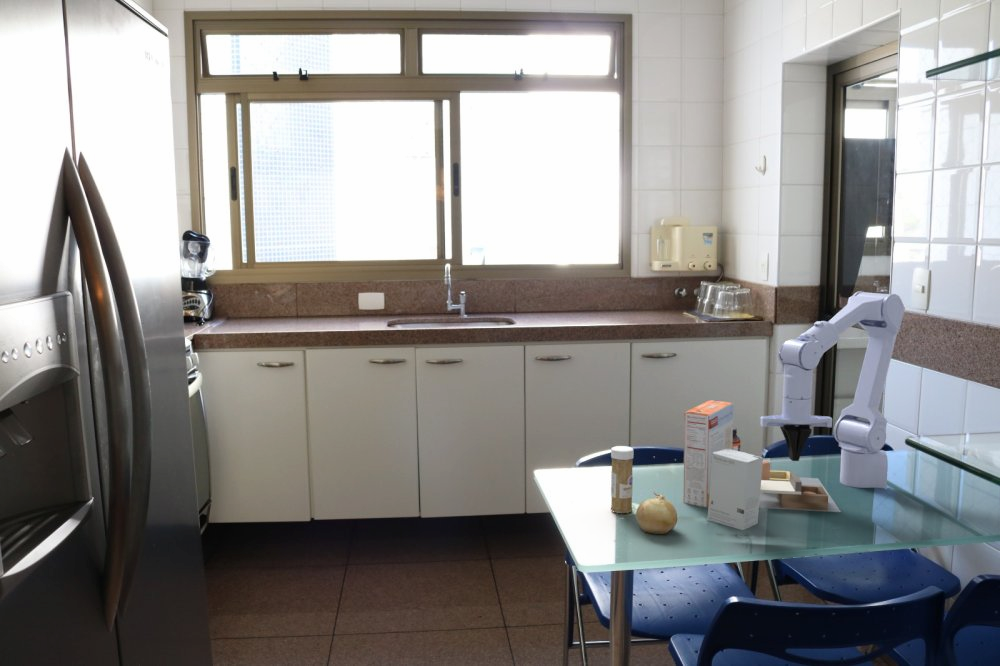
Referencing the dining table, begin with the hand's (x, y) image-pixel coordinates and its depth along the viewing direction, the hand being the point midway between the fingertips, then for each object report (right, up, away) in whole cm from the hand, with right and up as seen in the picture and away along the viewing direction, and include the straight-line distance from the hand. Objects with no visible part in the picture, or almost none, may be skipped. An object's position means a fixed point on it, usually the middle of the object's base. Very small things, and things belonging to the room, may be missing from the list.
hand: (794, 459), depth 180 cm
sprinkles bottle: (-37, -10, -4) cm, 39 cm away
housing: (0, -9, -3) cm, 9 cm away
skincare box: (-17, -12, -13) cm, 24 cm away
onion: (-32, -12, -15) cm, 37 cm away
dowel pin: (-5, -7, +7) cm, 11 cm away
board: (+1, -9, +5) cm, 10 cm away
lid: (-4, -6, -3) cm, 7 cm away
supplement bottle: (-9, -7, +22) cm, 24 cm away
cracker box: (-18, -10, +2) cm, 20 cm away
